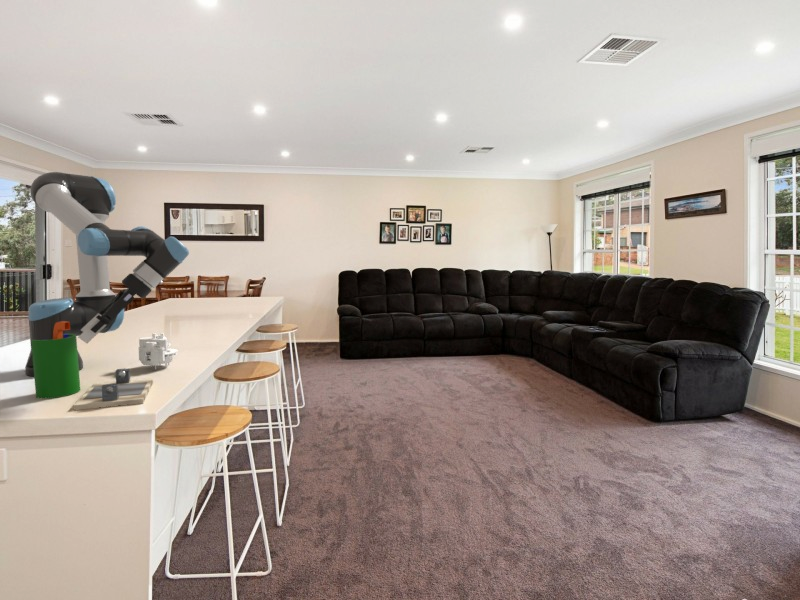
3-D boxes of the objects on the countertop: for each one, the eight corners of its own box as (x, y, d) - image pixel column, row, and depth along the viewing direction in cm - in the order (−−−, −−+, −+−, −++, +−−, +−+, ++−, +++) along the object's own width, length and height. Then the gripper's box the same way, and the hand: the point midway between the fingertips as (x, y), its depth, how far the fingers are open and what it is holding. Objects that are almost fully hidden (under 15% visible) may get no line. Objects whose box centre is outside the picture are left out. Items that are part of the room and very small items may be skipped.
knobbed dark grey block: (105, 397, 119) (104, 383, 119) (119, 396, 120) (118, 382, 120) (102, 401, 116) (101, 386, 116) (117, 400, 117) (116, 385, 117)
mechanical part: (184, 363, 162) (183, 330, 161) (164, 372, 150) (162, 336, 149) (154, 362, 163) (153, 329, 162) (131, 371, 151) (130, 335, 150)
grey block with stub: (117, 382, 134) (116, 369, 133) (130, 381, 135) (129, 368, 134) (115, 385, 131) (114, 371, 130) (128, 383, 132) (127, 371, 132)
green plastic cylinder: (55, 387, 132) (50, 318, 130) (88, 387, 132) (84, 318, 130) (30, 398, 122) (24, 324, 120) (65, 398, 122) (61, 324, 120)
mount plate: (94, 387, 133) (94, 382, 132) (153, 382, 138) (153, 377, 138) (73, 410, 113) (73, 404, 113) (143, 403, 119) (142, 398, 119)
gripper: (156, 292, 125) (94, 352, 119) (149, 286, 146) (96, 338, 140) (133, 273, 122) (68, 334, 116) (129, 270, 143) (74, 322, 137)
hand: (83, 336), depth 128 cm, fingers open, 13 cm apart
